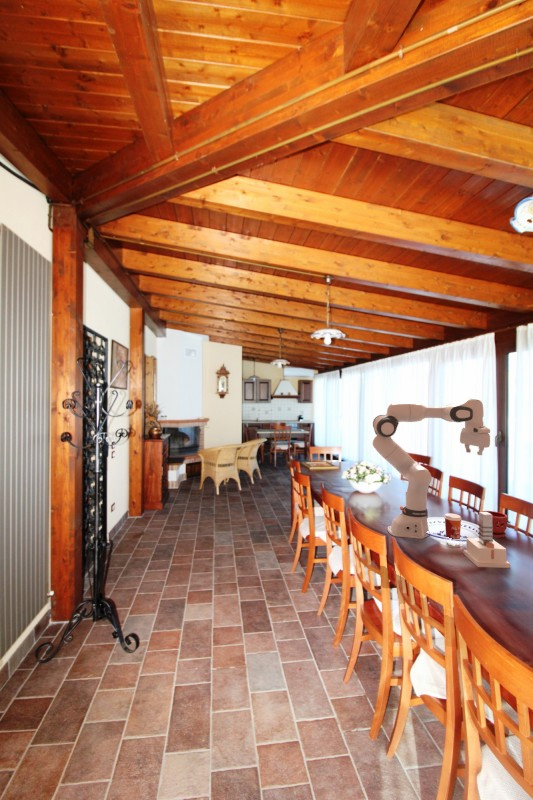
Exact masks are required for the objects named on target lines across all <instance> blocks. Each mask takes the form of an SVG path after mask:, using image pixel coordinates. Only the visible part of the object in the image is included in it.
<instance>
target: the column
mask: <svg viewBox="0 0 533 800" xmlns="http://www.w3.org/2000/svg"><path fill="white" fill-rule="evenodd" d="M477 529H478V538H477V539H479V543H480V544H481V545H482V546H486V542H489V543H492V542H493V540H494V539H493V538H494V537H493V535H492V533H493V531H492V529H493V527H492V514H490V513H489V512H481V511H479V512H478V528H477ZM492 539H493V540H492Z"/></svg>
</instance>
